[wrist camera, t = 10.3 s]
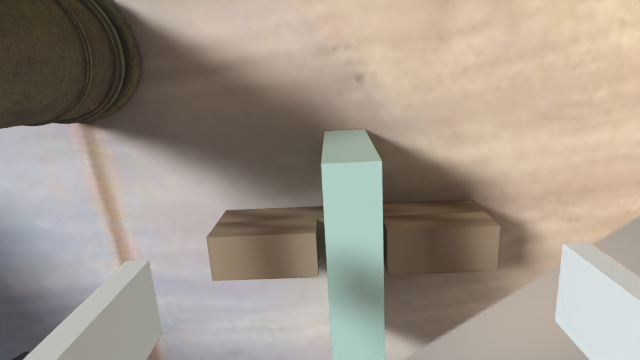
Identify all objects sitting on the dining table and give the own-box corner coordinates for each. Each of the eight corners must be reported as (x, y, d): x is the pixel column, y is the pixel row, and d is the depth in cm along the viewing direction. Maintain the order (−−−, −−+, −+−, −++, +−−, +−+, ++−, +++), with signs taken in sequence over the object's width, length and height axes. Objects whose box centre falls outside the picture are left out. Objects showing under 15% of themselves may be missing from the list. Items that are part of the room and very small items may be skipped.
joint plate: (369, 306, 32) (385, 409, 22) (333, 307, 32) (335, 410, 23) (364, 128, 28) (382, 160, 19) (324, 131, 28) (321, 163, 19)
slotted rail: (230, 247, 31) (212, 280, 26) (226, 210, 30) (206, 237, 25) (470, 238, 30) (497, 270, 26) (472, 200, 30) (500, 225, 25)
